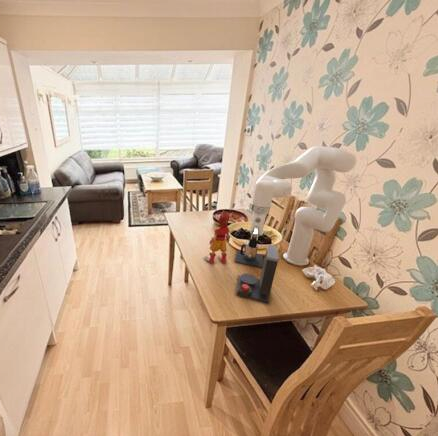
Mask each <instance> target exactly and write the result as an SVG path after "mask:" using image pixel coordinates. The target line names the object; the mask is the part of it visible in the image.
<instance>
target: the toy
mask: <svg viewBox="0 0 438 436" xmlns="http://www.w3.org/2000/svg"><path fill="white" fill-rule="evenodd" d="M213 217H214V218H215V219H216V220H217V223H218V225H219V227H218V228H217V229H216V228H215V230H214V235H213V237H212V236H211V239H210V240H209V250H210V251H211V252H209V255H207V256H206V257H205V258H204V259H205V260H206V261H207V262H208V263H210V264H214V263H215V258H216V256H217V254H216V252H218V251H220V255H219V260H220V261H221V262H222V264H226V261H227V260H226V258H227V253H226V252H227V249H228V248H227V244H228V243H229V242H230V239H231V235H230V228H229V226H228V224H229V220H230V215H228V214H227V213H226V211H225V210H224V209H223V210H222V211H221V213H220V214H218V213H215V214H214V215H213Z"/></svg>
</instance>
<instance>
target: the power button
mask: <svg viewBox="0 0 438 436" xmlns="http://www.w3.org/2000/svg"><path fill="white" fill-rule="evenodd" d="M242 290H243V291H248V290H249V286H248V285H246V284H243V285H242Z"/></svg>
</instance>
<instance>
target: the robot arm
mask: <svg viewBox="0 0 438 436" xmlns="http://www.w3.org/2000/svg"><path fill="white" fill-rule="evenodd" d="M356 164H357V156H356V155H355V154H354V153H352V152H350V151H348V150H345V149H342V148H339V147H335V146H333V147H332V146H324V145H314V146H312V147H310V148H308V149H307V150H306V151H305V152H303V153H302V154H301V155H299V156H298V157H297V158H296V159H294V160H293V161H291V162H288V163H287V162H286V163H284V164H281V165H278V166H275V167H273V168H270V169H269V170H267V171H266V172H265V173H263V174H262V176H260V178H259V179H258V180H257V181H256V183H255V186H254V191H253V195H252V200H251V206H250V212H252V216H251V222H250V228H249V229H250V236H249V247H252V248H256V246H257V244H258V241H259V240H258V239H259V236H260V237H262V235H263V232H264V227H265V221H266V217H267V215H269V214H270V211H271V206H272V201H273V198H286V197H288V196H289V195H291V193H292V191H293V185H292V183H291V182H290V181H288V180H289V179H291V180H293V179H302V178H305V177H307V176H308V175H309V174H310V173H312V172H313V171H315V177H314V180H313V182H312V184H311V187H310V189H309V191H308V193H307V195H306V202H307V203H308V204H309V205H311V206H314V207H317V208H314V207H311V206H301V207H299V208H298V209H296V211H295V214H294V227H293V230H292V234H291V238H290V241H289V244H288V245H289V246H288V248H287V252H284V253H283V254H282V257H283V259H284V260H285V261H286V262H287V263H289V264H291V265H295V266H302V267H303V266H308V265H309V263H310V260H309V258H308V256H309V255H308V254H309V251H310V249H311V245H312V242H313V239H314V236H315V231H314V230H317V231H319V232H322V233H328V232H330V231H331V230H332V229H333V228H334V226H335V225H336V223H337V221H338V219H339V218H340V217H339V216H340V215H341V213H342V211H343V209H344V207H345V204H346V201H347V200H346V199H347V198H346V196H345V195H346V194H344V193H342V192H340V191H336V190H333V187H334V186H335V183H336V181H337V179H336V177H337V176H336V174H335V172H338V173H349V172H350V171H352V170H353V169H354V168H355V166H356ZM318 208H320V209H324V210H325V211H323V210H320V209H318Z"/></svg>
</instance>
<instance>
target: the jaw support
mask: <svg viewBox="0 0 438 436" xmlns="http://www.w3.org/2000/svg"><path fill="white" fill-rule="evenodd" d="M326 270H327V269H326V268H323V267H320V266H318V265H316V264H314V265H313V266H310V267H306V268H303V269H301V271H302V272H303V274H304V275H305V276H306V277H307V278H312V279H315V280H313V282H312V283H311V284H310V285H311V287H313V288H314V289H315V290H316V291H318V288H319V287H320V288H321V289H322V290H324V291H326V290H327V289H329V288H330V287H333V286H334V285H335V284H336V279H334V278H333V276H332V274H329V273H328V272H327V271H326Z"/></svg>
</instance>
